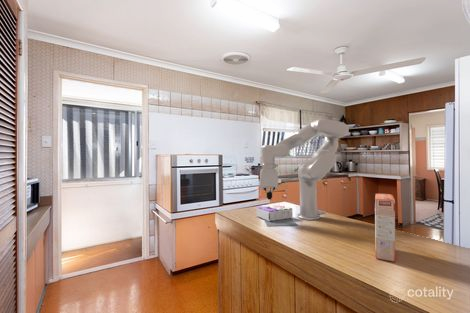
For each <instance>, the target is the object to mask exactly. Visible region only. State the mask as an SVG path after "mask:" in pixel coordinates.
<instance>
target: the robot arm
mask: <svg viewBox="0 0 470 313" xmlns="http://www.w3.org/2000/svg"><path fill="white" fill-rule="evenodd" d="M349 130H350V128H349V126H348V124H346V123H345V122H343V121H339V120H334V119H333V120H332V119H328V118H318V119H316V120H315V119H314V120H313V121H311V122H309V123H308V124H306V125H305V126H304V127H302V128H300V129H298V130H296V131H295V132H294V133H293V134H290V136H288V137H286V138H284V139H282V140H280V141H279V142H278V143H276V144H274V145H272V144H267V145H265V144H264V145H262V146H261V148H260V149H261V169H260V172H259V190H264V191H265V192H266V198H267V199H268V200H272V198H273V192H274V191H275V190H277V189H279V188H280V187H279V177H278V171H277V168H278V164H276V159H277V158H280V159H283V158H286V157H288V156H289V154H290V152H291V151H290V150H292V149H293V150H294V149H295V148H297V147H301V146H303V145H305V144H307V143H308V142H309V141H311V140H312V139H314V138H316V137H317V136H319V135H322V134H323V135H324V142H323V143H322V145H320V147H319V148H318V149H317V150H316V151H315V152H314V153H313V154H312V156H311V157H310V158H311V159H310V162H311V163H303V164H301V165H300V166H299V167H298V170H297V176H298V184H299V213H298V214H297V218H298V219H301V220H306V221H315V220H319V219H320V218H321V215H326V211H325V210H318V203H317V202H318V198H317V197H318V195H317V190H318V189H317V183H316V182H318V181H321V180H322V179H323V178H324V177H325V176H326V175H327V174H328V173H329V172H330V170H331V169H333V167H334V166H335V165H336V163H337V156H336V152H337V150H338V149H339V138H341V139H342V138H345V137H346V136H347V135H348V134H349V133H350V132H349Z"/></svg>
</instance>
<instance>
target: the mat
mask: <svg viewBox="0 0 470 313" xmlns="http://www.w3.org/2000/svg"><path fill="white" fill-rule="evenodd" d="M263 221H264V223H265V225H266V226H267V227H297V226H299V224H298V223H297V222H296V221H295V220H294V219H293V218H288V219H281V220H274V221H267V220H265V219H263Z"/></svg>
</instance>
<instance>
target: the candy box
mask: <svg viewBox="0 0 470 313" xmlns="http://www.w3.org/2000/svg"><path fill="white" fill-rule="evenodd" d="M256 217H258V218H260V219H263V220H264V219H265V220H267V221H274V220H281V219H288V218H292V219H293V208H292V207H289V206H285V205H283V204H279V203H278V204H270V205H264V206H263V205H262V206H256Z"/></svg>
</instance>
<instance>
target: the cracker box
mask: <svg viewBox="0 0 470 313" xmlns="http://www.w3.org/2000/svg"><path fill="white" fill-rule="evenodd" d="M374 200H375V202H374V229H375V230H374V240H375V242H374V244H375V259H376V260H377V259H378V260H382V261H387V262H393V263H395V262H396V214H395V213H396V207H395V206H396V204H395V203H396V201H395V197H394V195H393V194H390V193H375V198H374Z"/></svg>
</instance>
